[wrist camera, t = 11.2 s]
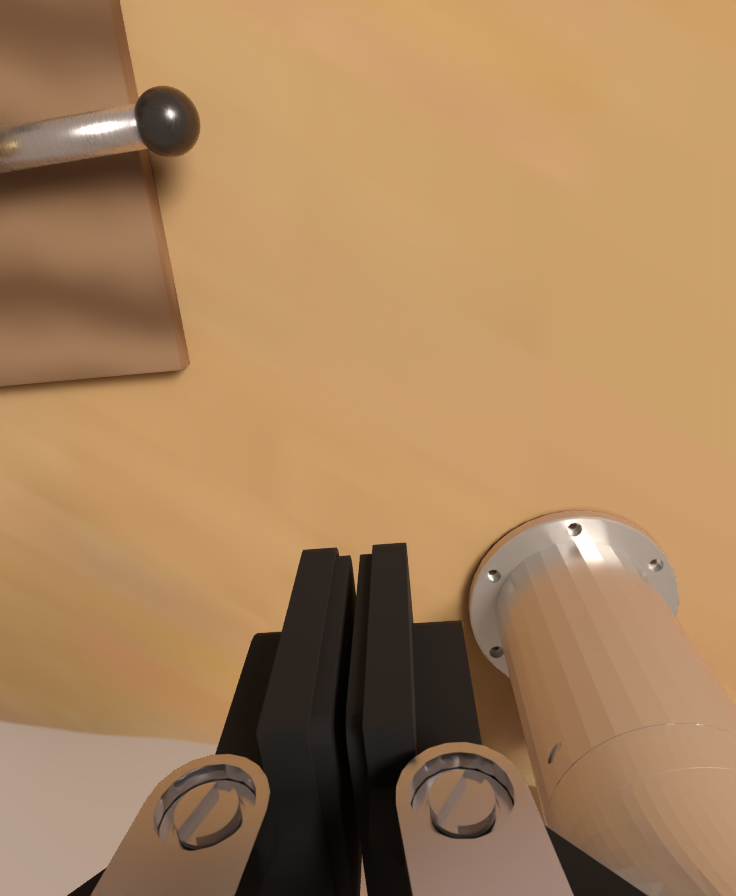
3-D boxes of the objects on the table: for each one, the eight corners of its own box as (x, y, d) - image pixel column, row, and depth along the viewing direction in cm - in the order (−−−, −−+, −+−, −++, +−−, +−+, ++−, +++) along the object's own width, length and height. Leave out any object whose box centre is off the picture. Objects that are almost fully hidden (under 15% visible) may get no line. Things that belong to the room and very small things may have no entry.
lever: (-84, 240, 34) (-164, 246, 29) (-131, 109, 32) (-226, 92, 27) (226, 190, 32) (197, 189, 27) (198, 51, 30) (160, 22, 25)
